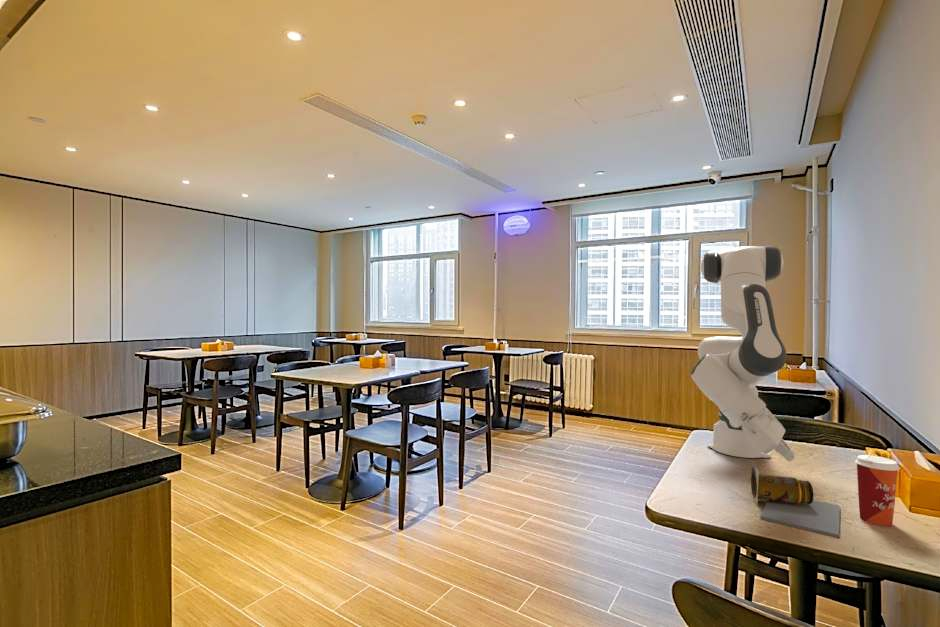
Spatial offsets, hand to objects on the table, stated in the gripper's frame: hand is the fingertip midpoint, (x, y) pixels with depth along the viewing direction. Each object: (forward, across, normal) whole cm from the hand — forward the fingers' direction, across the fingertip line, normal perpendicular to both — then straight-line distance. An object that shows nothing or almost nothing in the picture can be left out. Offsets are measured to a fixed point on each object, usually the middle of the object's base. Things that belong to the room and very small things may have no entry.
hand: (792, 458), depth 113 cm
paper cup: (+20, +6, -2) cm, 21 cm away
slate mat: (+10, 0, +7) cm, 12 cm away
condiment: (0, +2, +11) cm, 12 cm away
